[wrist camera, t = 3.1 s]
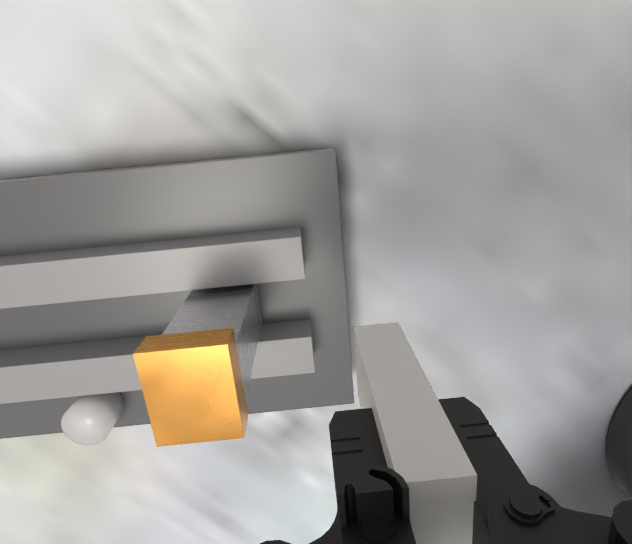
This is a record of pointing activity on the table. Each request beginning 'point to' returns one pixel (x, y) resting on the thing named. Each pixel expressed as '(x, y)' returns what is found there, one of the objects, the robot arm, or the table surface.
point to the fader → (202, 366)
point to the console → (166, 283)
